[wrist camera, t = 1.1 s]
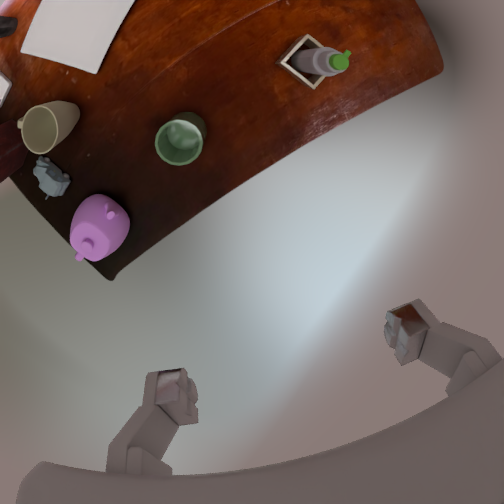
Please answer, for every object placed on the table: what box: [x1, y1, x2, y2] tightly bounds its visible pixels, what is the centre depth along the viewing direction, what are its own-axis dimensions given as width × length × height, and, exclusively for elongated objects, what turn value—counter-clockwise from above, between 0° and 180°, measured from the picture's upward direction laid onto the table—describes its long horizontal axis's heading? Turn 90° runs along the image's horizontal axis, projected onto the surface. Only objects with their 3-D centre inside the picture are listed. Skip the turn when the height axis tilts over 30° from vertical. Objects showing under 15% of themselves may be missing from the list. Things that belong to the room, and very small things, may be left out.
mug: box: [17, 101, 80, 154], centre depth 38 cm, size 11×10×12 cm
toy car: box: [33, 156, 71, 199], centre depth 49 cm, size 6×10×5 cm, turn 42°
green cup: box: [155, 112, 207, 165], centre depth 46 cm, size 8×8×8 cm
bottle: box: [291, 47, 351, 76], centre depth 34 cm, size 4×4×20 cm
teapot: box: [70, 194, 130, 261], centre depth 54 cm, size 20×13×12 cm, turn 131°
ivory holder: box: [276, 34, 326, 89], centre depth 40 cm, size 7×7×6 cm
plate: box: [21, 0, 135, 74], centre depth 29 cm, size 22×22×2 cm
